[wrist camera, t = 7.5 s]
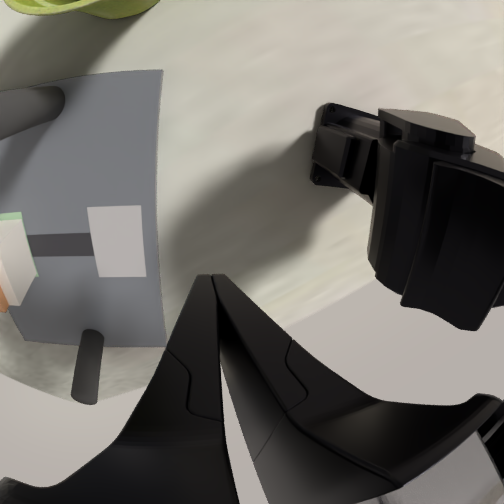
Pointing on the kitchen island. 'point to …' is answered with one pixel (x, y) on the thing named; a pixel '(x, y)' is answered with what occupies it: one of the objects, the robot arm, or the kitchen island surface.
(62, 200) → the panel
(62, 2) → the plant pot
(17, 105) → the cord post
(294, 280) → the kitchen island surface
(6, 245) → the orange striped block
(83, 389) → the cord post
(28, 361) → the kitchen island surface
